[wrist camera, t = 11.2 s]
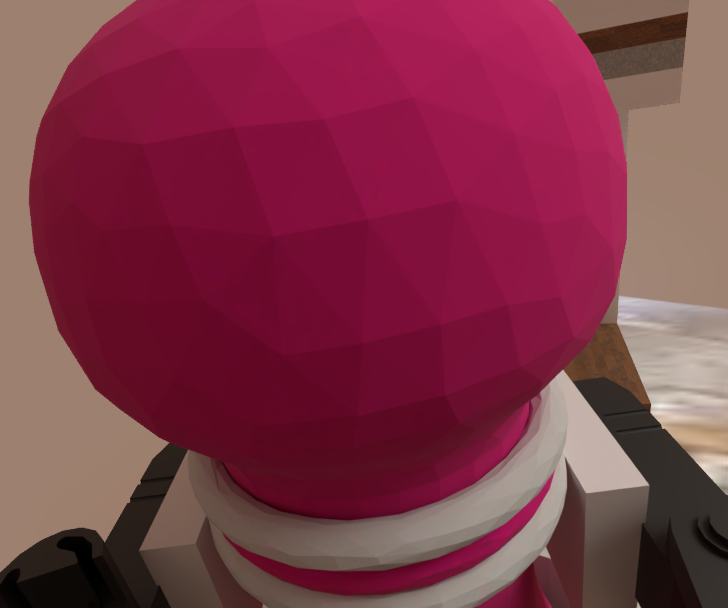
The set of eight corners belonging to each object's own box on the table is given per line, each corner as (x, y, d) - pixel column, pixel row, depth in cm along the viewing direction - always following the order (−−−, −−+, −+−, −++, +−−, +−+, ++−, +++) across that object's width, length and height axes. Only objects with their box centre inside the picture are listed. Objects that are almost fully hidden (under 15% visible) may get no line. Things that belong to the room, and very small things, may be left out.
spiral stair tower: (449, 424, 31) (359, -359, 17) (463, 343, 40) (412, -208, 26) (648, 433, 27) (741, -552, 13) (613, 341, 36) (647, -297, 22)
